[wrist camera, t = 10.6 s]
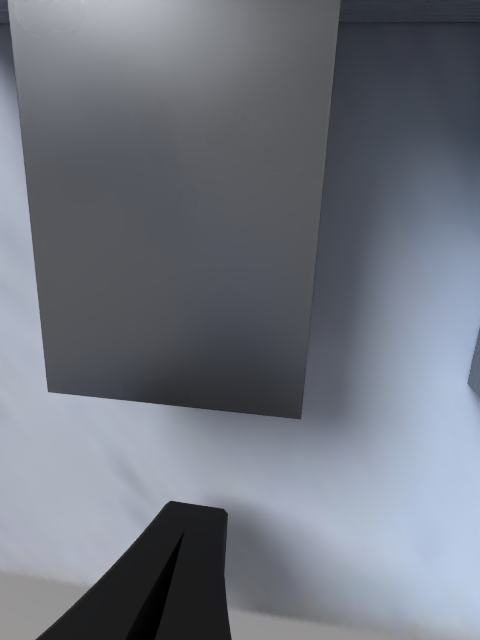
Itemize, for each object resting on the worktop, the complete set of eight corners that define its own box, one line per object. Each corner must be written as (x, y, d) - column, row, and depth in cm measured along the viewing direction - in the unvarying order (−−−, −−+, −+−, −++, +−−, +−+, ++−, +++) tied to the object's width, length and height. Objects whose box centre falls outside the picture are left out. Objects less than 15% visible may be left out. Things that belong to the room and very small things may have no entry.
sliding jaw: (0, 321, 10) (-184, 402, 6) (-68, -188, 7) (-467, -593, 4) (448, 360, 9) (557, 490, 5) (568, -233, 6) (1006, -930, 2)
